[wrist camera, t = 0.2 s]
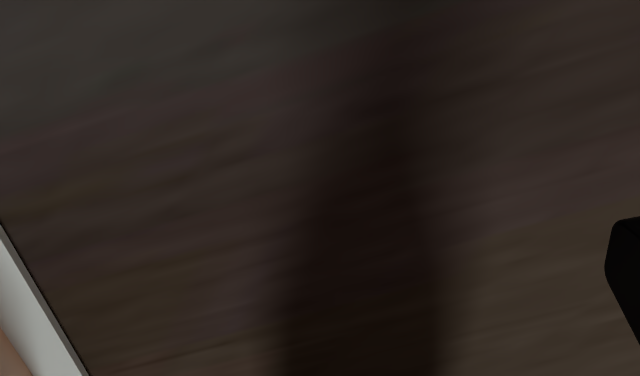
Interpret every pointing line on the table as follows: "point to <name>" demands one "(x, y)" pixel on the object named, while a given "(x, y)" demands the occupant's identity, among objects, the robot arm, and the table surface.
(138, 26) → the table surface
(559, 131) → the table surface
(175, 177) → the table surface
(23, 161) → the table surface
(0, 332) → the tile
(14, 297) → the mat
